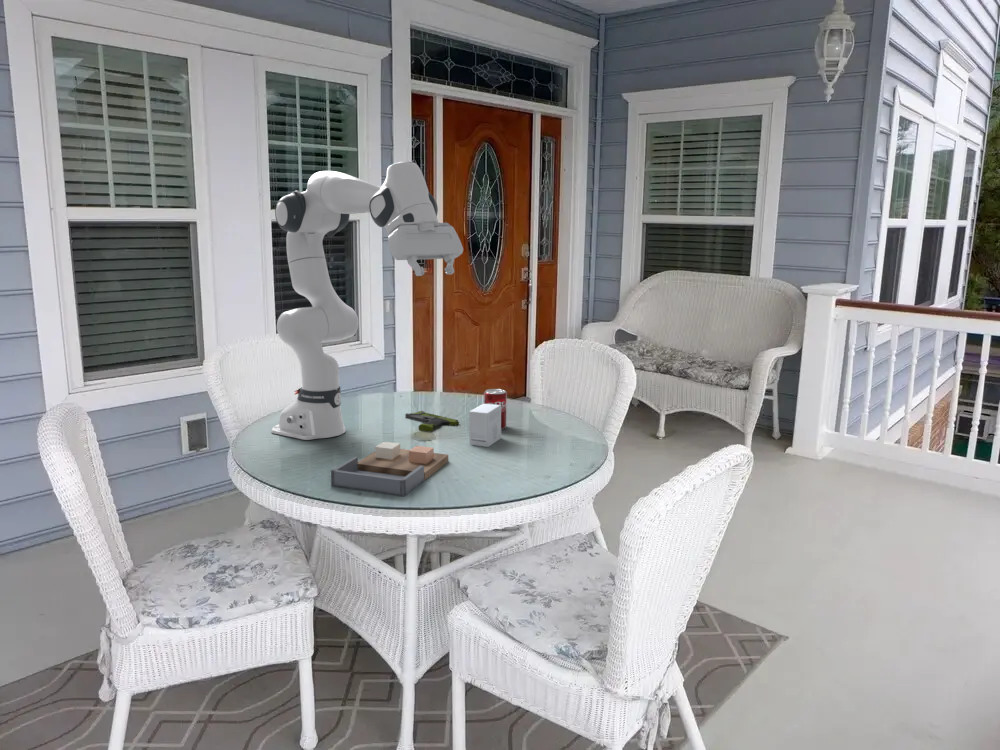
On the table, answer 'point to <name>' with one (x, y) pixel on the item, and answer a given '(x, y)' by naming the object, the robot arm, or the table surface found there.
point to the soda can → (497, 402)
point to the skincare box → (485, 425)
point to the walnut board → (401, 464)
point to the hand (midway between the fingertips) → (435, 274)
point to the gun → (430, 420)
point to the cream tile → (387, 450)
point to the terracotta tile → (421, 454)
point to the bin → (375, 479)
